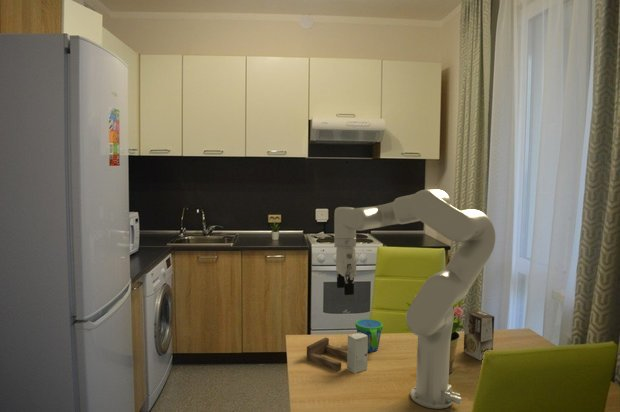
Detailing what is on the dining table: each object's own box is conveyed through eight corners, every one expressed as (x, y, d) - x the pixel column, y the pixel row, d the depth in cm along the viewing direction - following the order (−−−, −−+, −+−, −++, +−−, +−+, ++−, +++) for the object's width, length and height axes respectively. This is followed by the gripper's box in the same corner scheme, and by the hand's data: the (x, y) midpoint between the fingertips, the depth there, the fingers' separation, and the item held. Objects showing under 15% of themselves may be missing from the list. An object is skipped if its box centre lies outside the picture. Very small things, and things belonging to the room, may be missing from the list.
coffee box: (493, 358, 161) (495, 316, 159) (479, 361, 158) (481, 318, 157) (475, 349, 169) (477, 309, 168) (462, 351, 167) (464, 310, 165)
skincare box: (354, 373, 147) (355, 339, 146) (346, 368, 150) (347, 335, 149) (368, 369, 150) (368, 335, 149) (359, 364, 154) (360, 331, 153)
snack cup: (352, 340, 176) (353, 316, 175) (378, 340, 176) (378, 316, 175) (357, 356, 160) (358, 330, 159) (385, 357, 160) (386, 330, 160)
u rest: (356, 360, 157) (356, 347, 157) (338, 371, 148) (338, 357, 148) (325, 349, 166) (325, 337, 165) (306, 359, 157) (306, 346, 156)
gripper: (363, 246, 142) (363, 297, 143) (348, 238, 158) (348, 284, 160) (341, 246, 140) (341, 298, 141) (328, 239, 157) (328, 285, 158)
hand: (345, 291), depth 150 cm, fingers open, 9 cm apart
